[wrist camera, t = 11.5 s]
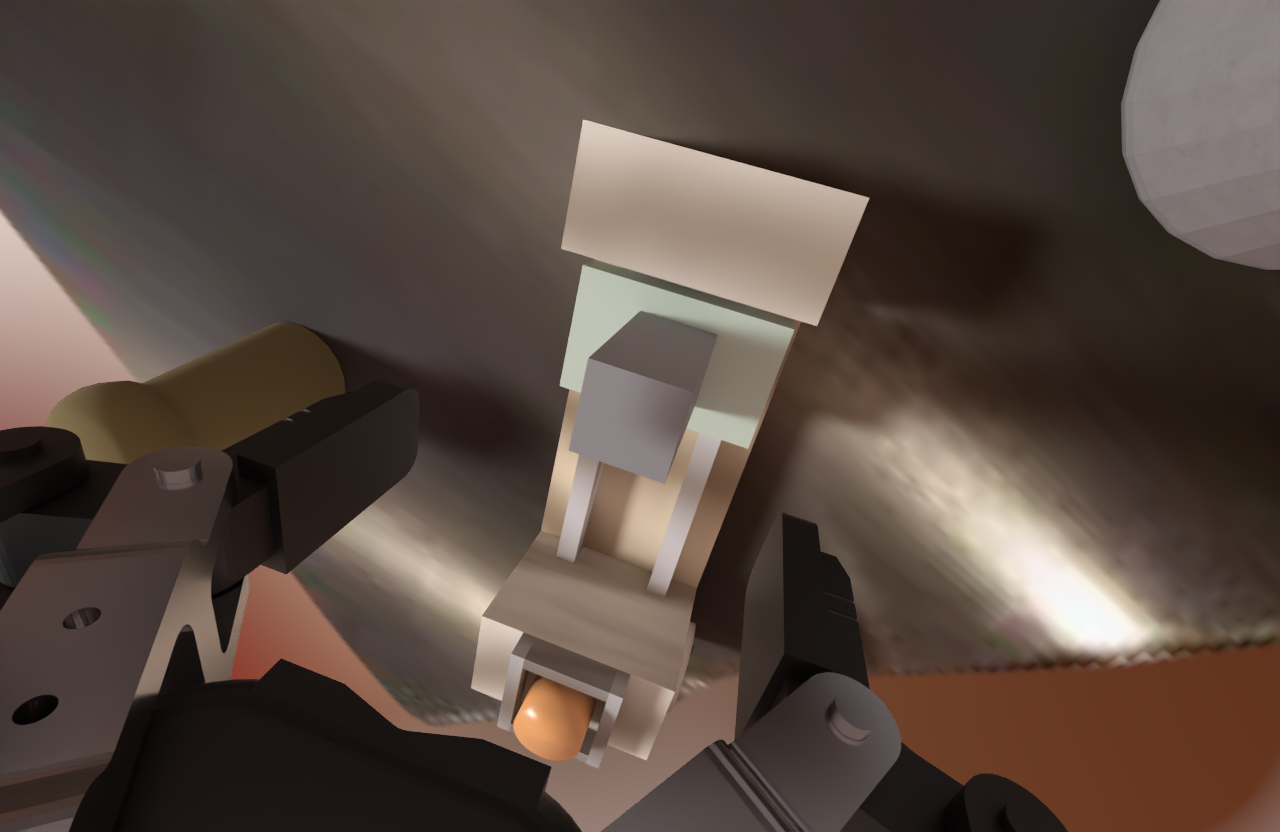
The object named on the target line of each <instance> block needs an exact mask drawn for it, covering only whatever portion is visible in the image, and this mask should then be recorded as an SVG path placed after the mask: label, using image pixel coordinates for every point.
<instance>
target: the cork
mask: <svg viewBox="0 0 1280 832" xmlns="http://www.w3.org/2000/svg"><path fill="white" fill-rule="evenodd" d="M340 394H345V381H344V375H343V373H342V370H341V367H340V365H339V362H338V360H337V359H336V357H335V356H334V354H333V353H332V351H331V349H330V348H329V346H328V345H326V344H325V343H324V342H323V341H322V340H321V339H320V338H319V337H318V336H317V335H316V334H315V333H313V332H311V331H310V330H308V329H306V328H305V327H303V326H301V325H297V324H293V323H289V322H280V323H273V324H271V325H269V326H266V327H264V328H262V329H260V330H258V331H256V332H253V333H251V334H249V335H247V336H245V337H242V338H240V339H238V340H236V341H234V342H232V343H229V344H227V345H225V346H223V347H221V348H219V349H216V350H214V351H212V352H210V353H208V354H205V355H203V356H201V357H199V358H197V359H195V360H192V361H190V362H188V363H186V364H184V365H181V366H179V367H177V368H175V369H173V370H171V371H168V372H166V373H164V374H162V375H160V376H157V377H155V378H153V379H151V380H149V381H147V382H144V383H142V384H141V383H137V382H132V381H118V382H106V383H97V384H94V385H90V386H86V387H83V388H80V389H79V390H77V391H75V392H73V393H71V394H70V395H68V396H66V397H65V398H64V399H62V400H61V401H60V402H58V403H57V405H56V406H55V407H54V408H53V409H52V410H51V412H50V414H49V416H48V419H47V427H54V428H61V429H65V430H68V431H71V432H73V433H75V434H76V435H77V436H78V437H79V438H80V441H81V444H82V448H83V451H84V454H85V458H86V460H94V461H103V462H112V463H121V464H130V463H131V462H133V461H134V460H136V459H138V458H140V457H142V456H144V455H147V454H149V453H152V452H155V451H159V450H163V449H168V448H174V447H182V446H202V447H209V448H214V449H217V450H220V451H222V450H224V449H226V448H228V447H230V446H232V445H234V444H235V443H237V442H239V441H241V440H243V439H245V438H247V437H249V436H251V435H253V434H255V433H257V432H259V431H261V430H263V429H265V428H267V427H269V426H271V425H273V424H275V423H277V422H279V421H281V420H284V421H285V420H286V418H287V417H289V416H291V415H293V414H295V413H297V412H299V411H301V412H303V410H304V408H306V407H308V406H310V405H312V404H314V403H316V402H318V401H320V400H322V399H324V398H328V397H332V396H336V395H340Z"/></svg>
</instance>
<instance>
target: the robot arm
mask: <svg viewBox="0 0 1280 832" xmlns="http://www.w3.org/2000/svg"><path fill="white" fill-rule="evenodd" d="M419 408H420V397H419V393H418V392H417V391H416V390H415V389H413V388H410V387H407V386H404V385H401V384H398V383H395V382H392V381H389V380H386V379H378V380H376V381H374V382H372V383H370V384H368V385H366V386H364V387H363V388H361V389H359V390H357V391H355V392H349V393H345V394H340V395H336V396H332V397H328V398H324V399H322V400H320V401H318V402H316V403H314V404H312V405H310V406H308V407H306V408H304V410H303V412H301V411H299V412H297V413H295V414H293V415H291V416H289V417H287V418H286V420H285V421H284V420H281V421H279V422H277V423H275V424H273V425H271V426H269V427H267V428H265V429H263V430H261V431H259V432H257V433H255V434H253V435H251V436H249V437H247V438H245V439H243V440H241V441H239V442H237V443H235V444H234V445H232V446H230V447H228V448H226V449H224V450H222V451H220V450H217V449H214V448H209V447H202V446H182V447H174V448H168V449H163V450H159V451H155V452H152V453H149V454H147V455H144V456H142V457H140V458H138V459H136V460H134V461H133V462H131V463H130V464H121V463H112V462H103V461H94V460H86V458H85V454H84V451H83V448H82V444H81V441H80V438H79V437H78V436H77V435H76V434H75V433H73V432H71V431H68V430H65V429H61V428H54V427H21V428H13V429H7V430H1V431H0V832H582V831H581V830H580V828H579V827H578V826H577V824H576V823H575V821H574V820H573V818H572V817H571V816H570V815H569V814H568V813H567V812H566V811H565V809H564V808H563V807H562V806H561V805H560V804H559V803H558V802H557V801H556V800H554V799H553V798H552V797H551V796H550V795H548V794H547V793H546V792H545V789H546V785H547V782H548V778H549V774H550V771H551V766H548V765H546V764H543V763H540V762H538V761H535V760H533V759H530V758H528V757H526V756H523V755H521V754H518V753H515V752H513V751H510V750H508V749H505V748H503V747H500V746H498V745H496V744H493V743H491V742H488V741H486V740H483V739H475V738H466V737H457V736H449V735H440V734H429V733H421V732H412V731H405V730H402V729H399V728H397V727H396V726H394V725H393V724H392V723H391V722H389V721H388V720H387V719H385V717H383V716H382V715H381V714H380V713H379V712H377V711H376V710H375V709H374V708H373V707H371V706H370V705H369V704H368V703H367V702H365V701H364V700H363V699H362V698H361V697H359V696H358V695H357V694H356V693H355V692H354V691H352V690H351V689H350V688H349V687H347V686H346V685H345V684H343V683H341V682H338V681H336V680H333V679H331V678H328V677H326V676H323V675H321V674H318V673H316V672H313V671H311V670H308V669H306V668H303V667H301V666H298V665H296V664H293V663H291V662H288V661H286V660H283V659H280V660H279V661H278V662H277V663H276V664H275V665H274V666H273V667H272V668H271V669H270V670H269V671H268V672H267V673H266V674H265V675H264V676H263V677H262V678H261V679H260V680H257V679H234V680H231V670H232V665H233V660H234V656H235V651H236V647H237V642H238V637H239V633H240V628H241V624H242V620H243V615H244V610H245V606H246V602H247V597H248V592H249V588H250V578H249V573H250V572H251V571H253V570H254V569H255V568H257V566H259V565H260V564H261V565H263V566H266V567H269V568H271V569H274V570H276V571H279V572H281V573H284V574H287V573H289V572H290V571H291V570H292V569H294V568H295V567H296V566H297V565H298V564H300V563H301V562H302V561H303V560H304V559H306V558H307V557H308V556H309V555H310V554H312V553H313V552H314V551H315V550H316V549H318V548H319V547H320V546H321V545H323V544H324V543H325V542H326V541H327V540H329V539H330V538H331V537H332V536H333V535H335V534H336V533H337V532H338V531H339V530H341V529H342V528H343V527H344V526H346V525H347V524H348V523H349V522H350V521H352V520H353V519H354V518H355V517H356V516H358V515H359V514H360V513H361V512H362V511H364V510H365V509H366V508H367V507H368V506H370V505H371V504H372V503H373V502H375V501H376V500H377V499H378V498H379V497H381V496H382V495H383V494H384V493H385V492H387V491H388V490H389V489H390V488H391V487H393V486H394V485H395V484H396V483H398V482H399V481H400V480H401V479H402V478H404V477H405V476H406V475H407V473H408V472H409V471H410V469H411V468H412V466H413V464H414V461H415V459H416V456H417V450H418V430H419ZM853 600H854V598H853V592H852V587H851V581H850V578H849V576H848V575H847V573H846V571H845V570H844V568H843V567H842V565H841V563H840V562H839V560H838V559H837V557H835V556H832V555H829V554H826V553H823V552H820V543H819V534H818V527H817V524H816V523H813V522H810V521H807V520H804V519H801V518H798V517H795V516H792V515H789V514H786V513H783V512H779V513H778V514H777V516H776V518H775V519H774V522H773V524H772V526H771V528H770V530H769V533H768V535H767V537H766V539H765V542H764V544H763V546H762V548H761V551H760V553H759V555H758V557H757V560H756V562H755V564H754V566H753V569H752V572H751V575H750V578H749V581H748V585H747V590H746V595H745V607H744V620H743V633H742V647H741V660H740V673H739V687H738V701H737V713H736V727H735V740H734V741H733V742H732V743H730V744H729V745H727V744H726V742H725V741H724V740H718V741H716V742H714V743H712V744H711V745H709V746H708V747H706V748H705V749H704V750H702V751H701V752H700V753H699V754H698V755H696V756H695V757H694V758H692V759H691V760H690V761H689V762H687V763H686V764H685V765H684V766H682V767H681V768H680V769H679V770H677V771H676V772H675V773H674V774H672V775H671V776H670V777H669V778H667V779H666V780H665V781H664V782H663V783H661V784H660V785H659V786H657V787H656V788H655V789H654V790H652V791H651V792H650V793H649V794H648V795H646V796H645V797H644V798H642V799H641V800H640V801H639V802H638V803H636V804H635V805H634V806H632V807H631V808H630V809H629V810H627V811H626V812H625V813H624V814H622V815H621V816H620V817H619V818H617V819H616V820H615V821H614V822H612V823H611V824H610V825H609V826H607V827H606V828H605V829H604V830H602V831H601V832H1068V831H1067V830H1066V828H1065V827H1064V825H1063V824H1062V823H1061V822H1060V821H1059V819H1057V817H1056V816H1055V815H1054V814H1053V813H1052V812H1051V811H1050V810H1049V808H1048V807H1047V806H1046V805H1045V804H1043V803H1042V802H1041V801H1040V800H1039V799H1038V798H1037V797H1035V796H1034V795H1033V794H1032V793H1030V792H1029V791H1028V790H1026V789H1024V788H1023V787H1022V786H1020V785H1018V784H1017V783H1015V782H1013V781H1011V780H1009V779H1007V778H1004V777H1001V776H998V775H994V774H979V775H976V776H974V777H972V778H971V779H970V780H969V781H968V782H967V783H966V784H965V785H964V786H963V785H962V784H960V783H958V782H957V781H955V780H954V779H953V778H951V777H950V776H948V775H947V774H945V773H944V772H942V771H941V770H939V769H938V768H936V767H935V766H933V765H932V764H930V763H929V762H927V761H925V760H924V759H923V758H921V757H920V756H918V755H917V754H916V753H914V752H913V751H911V750H910V749H909V748H908V747H907V746H906V745H905V744H903V743H902V742H901V738H900V733H899V730H898V727H897V724H896V722H895V720H894V718H893V716H892V715H891V713H890V712H889V710H888V708H887V707H886V706H885V705H884V704H883V702H882V701H881V700H880V699H879V698H878V697H877V696H876V695H875V694H874V693H873V692H872V691H870V688H869V683H868V677H867V671H866V666H865V660H864V654H863V649H862V643H861V638H860V632H859V626H858V622H856V619H857V615H856V609H855V604H853Z"/></svg>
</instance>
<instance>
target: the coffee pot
mask: <svg viewBox="0 0 1280 832" xmlns="http://www.w3.org/2000/svg"><path fill="white" fill-rule="evenodd" d="M1121 125H1122V153H1123V157H1124V159H1125V162H1126V165H1127V167H1128V170H1129V173H1130V176H1131V178H1132V181H1133V184H1134V187H1135V189H1136V192H1137V195H1138V197H1139V200H1140V201H1141V202H1142V203H1143V204H1144V205H1145V206H1146V208H1147V209H1148V210H1149V211H1150V212H1151V213H1152V214H1153V216H1154V217H1155V218H1156V219H1157V220H1158V221H1159V223H1160V224H1161V225H1162V226H1163V227H1164V228H1165V229H1166V231H1167V232H1168V233H1170V234H1172V235H1173V236H1175V237H1177V238H1179V239H1181V240H1182V241H1184V242H1186V243H1188V244H1190V245H1191V246H1193V247H1195V248H1197V249H1198V250H1200V251H1202V252H1204V253H1206V254H1207V255H1209V256H1211V257H1213V258H1215V259H1220V260H1224V261H1229V262H1233V263H1238V264H1242V265H1247V266H1252V267H1256V268H1261V269H1265V270H1280V0H1160V1H1159V3H1158V5H1157V7H1156V9H1155V11H1154V13H1153V15H1152V17H1151V19H1150V21H1149V23H1148V25H1147V27H1146V29H1145V31H1144V33H1143V35H1142V37H1141V39H1140V41H1139V43H1138V45H1137V47H1136V49H1135V52H1134V56H1133V60H1132V64H1131V68H1130V71H1129V75H1128V79H1127V83H1126V87H1125V91H1124V95H1123V99H1122V103H1121Z"/></svg>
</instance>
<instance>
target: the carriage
mask: <svg viewBox="0 0 1280 832" xmlns="http://www.w3.org/2000/svg"><path fill="white" fill-rule="evenodd" d="M794 330H795V328H794V320H793V319H789V318H786V317H783V316H779V315H776V314H773V313H769V312H766V311H763V310H760V309H756V308H753V307H750V306H746V305H743V304H740V303H737V302H733V301H730V300H727V299H723V298H720V297H717V296H713V295H710V294H707V293H704V292H700V291H697V290H694V289H690V288H687V287H684V286H681V285H677V284H674V283H671V282H667V281H664V280H661V279H658V278H654V277H651V276H648V275H644V274H641V273H638V272H634V271H631V270H628V269H625V268H621V267H618V266H615V265H611V264H608V263H605V262H602V261H598V260H594V261H591V262H589V263H586V264H584V265H583V267H582V272H581V277H580V283H579V288H578V293H577V298H576V303H575V309H574V314H573V319H572V324H571V329H570V335H569V340H568V345H567V350H566V355H565V360H564V366H563V371H562V376H561V381H560V386H562V387H565V388H568V389H571V390H574V391H577V392H580V393H581V394H580V399H579V404H578V408H577V413H576V418H575V422H574V427H573V432H572V436H571V441H570V446H569V450H568V451H571V452H574V453H577V454H580V455H583V456H586V457H588V458H591V459H594V460H597V461H600V462H603V463H606V464H608V465H611V466H614V467H617V468H620V469H623V470H626V471H629V472H631V473H634V474H637V475H640V476H643V477H646V478H649V479H652V480H654V481H657V482H660V483H663V484H665V481H666V479H667V476H668V474H669V471H670V469H671V466H672V463H673V461H674V458H675V456H676V453H677V451H678V448H679V445H680V443H681V440H682V438H683V435H684V433H685V430H686V428H687V429H690V430H693V431H696V432H699V433H702V434H705V435H708V436H711V437H714V438H717V439H720V440H723V441H726V442H729V443H732V444H735V445H738V446H741V447H744V448H747V449H748V448H749V445H750V443H751V440H752V438H753V435H754V433H755V430H756V427H757V425H758V422H759V420H760V417H761V415H762V412H763V410H764V407H765V404H766V402H767V399H768V397H769V394H770V392H771V389H772V386H773V384H774V381H775V379H776V376H777V374H778V371H779V369H780V366H781V363H782V361H783V358H784V356H785V353H786V351H787V348H788V345H789V343H790V340H791V338H792V335H793V333H794Z"/></svg>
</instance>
